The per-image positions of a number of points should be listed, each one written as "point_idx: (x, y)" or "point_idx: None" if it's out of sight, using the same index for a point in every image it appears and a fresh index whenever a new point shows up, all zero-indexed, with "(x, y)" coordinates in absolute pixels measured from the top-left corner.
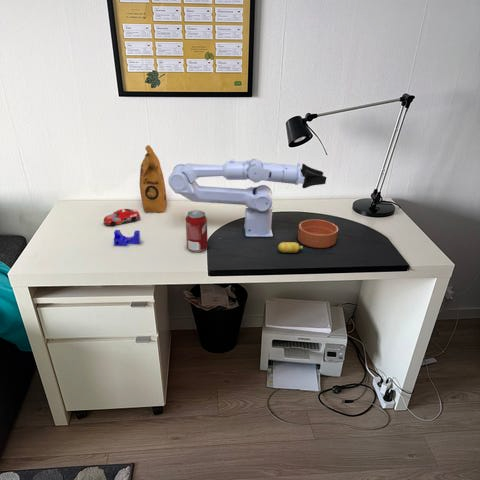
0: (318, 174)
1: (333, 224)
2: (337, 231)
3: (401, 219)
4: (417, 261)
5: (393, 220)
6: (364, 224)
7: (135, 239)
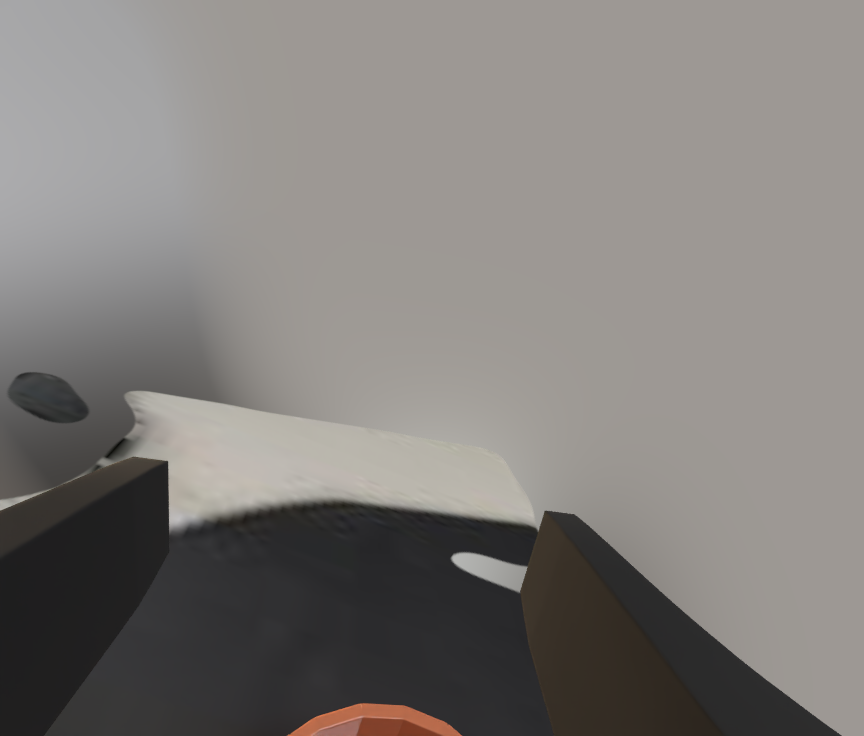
0: (111, 559)
1: (331, 722)
2: (446, 724)
3: (187, 405)
4: (504, 497)
5: (184, 424)
6: (175, 522)
7: None
